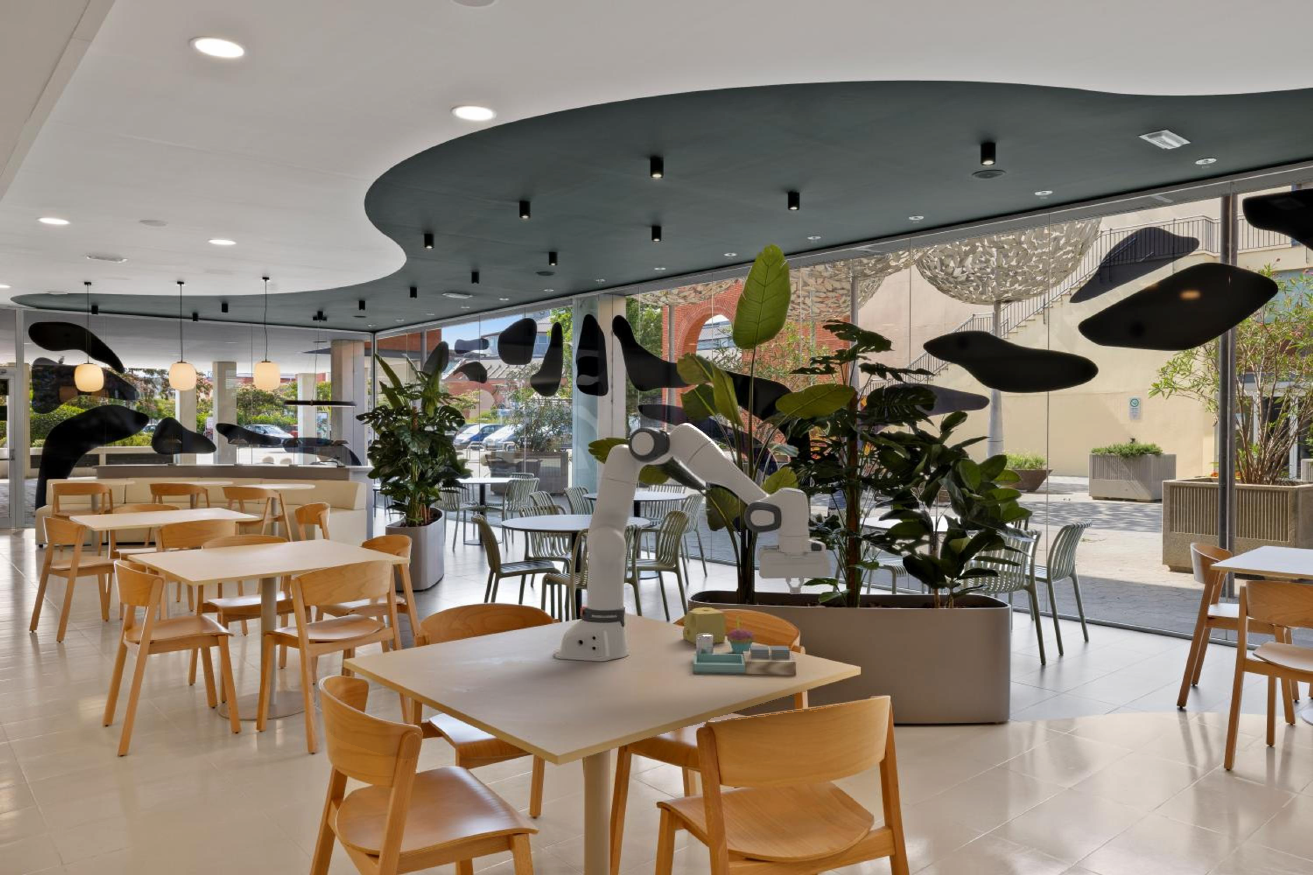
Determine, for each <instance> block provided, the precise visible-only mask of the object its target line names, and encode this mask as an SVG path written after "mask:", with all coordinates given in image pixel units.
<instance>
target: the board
mask: <svg viewBox="0 0 1313 875" xmlns="http://www.w3.org/2000/svg"><path fill="white" fill-rule="evenodd" d="M743 656H744V661H745V674H744V675H784V676H785V675H789V676H790V675H791V676H792V675H793V676H796V675H797V662H796V659H795V656H794V654H793V652H792V651H790V659H772V658H771V655H770V651H769V659H762V658H751V656H750V650H749V651H743Z"/></svg>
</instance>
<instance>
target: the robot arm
mask: <svg viewBox="0 0 1313 875" xmlns="http://www.w3.org/2000/svg"><path fill="white" fill-rule="evenodd" d="M674 458H676V459H678V460H679V461H680V463H682V464H683V465H684V466H685V467H686V468H687V469H688V471H690V472H691V473H692V474H693V475H694V476H696V477H697V478H698V479H700V480H702V481H703V482H705V483H709V484H714V485H718V486H721V487H725V488H727V489H728V490H731V491H732V492H733V493H734V494H735V495H736V496H738V498H740V499H741V500H742V501H743V502H744V503H745V504H747V507H746V508H745V511H744V515H743V516H744V518H743V519H744V522H745V525H746V527H747V528H748V529H749V530H750V531H752V532H754V533H756V534H757V533H758V534H766V533H771V532H775V531H776V532H777V541H778V542H777V543H778V544H775V545H774V544H773V545H762V547H760V548H758V549H757V552H756V553H757V555H756V556H757V559H758V561H759V563H758V564H759V566H758V576H759V577H760V579H765V580H766V579H785V583H786V584H787V585H788V587H789V594H790V595H801V592H802V590H801V589H802V587H803V585H804V583H805V579H810V578H811V579H812V578H814V579H815V578H816V579H817V578H830V576H831V575H832V569H831V560H830V557H829V555H828V554H827V552H826V549H827V546H826V543H824V542H823V541H820V540H819V541H818V540H816V539H813V538H812V539H811V538H810V530H809V526H808V525H809V520H810V511H809V502H808V497H807V494H806V492H804V491H803V490H801V489H799V488H798V489H797V488H794V487H780V488H779V489H778V490H777V491H775V492H774V493H772V494H770V493H769V492H767V491H765V490H764V489H763V488H762V487H761V486H759V485H758V484H757V482H755V481H753V479H752V478H750V477H749V476H748V475H747V474H746V473H745V472H743V471H742V470H741V469H740V468H739V467H738V466H737V465H736V464H735V463H734V462H733V461H732V460H731V459H730V457H729V456H728V455H727V454H726V453H725V452H724V451H723V450H722V448H720V446H719V445H718V444H716V442H715V441H714V440H712V438H710V437H709V436H708V435H707V434H706V433H705V432H703V431H702V430H700V429H699V428H698V427H696V426H695V425H693V424H691V423H689V422H685V423H680V424H678V425H676V426H675V427H674V428H673V429H672V430H671V431H669V432H667V431H666V430H665V429H661V428H659V427H658V428H657V427H653V426H652V427H651V426H643V427H639V428H637V429H635V430H634V431H633V432H632V433H631V434H630V436H629V440H628V444H617V445H614V446H613V447H611V449H610V450H609V453H608V454H607V458H606V461H605V463H604V466H603V469H602V474H601V477H600V482H599V485H598V486H599V487H598V490H597V494H596V501H595V504H594V508H593V513H592V515H591V519H590V523H589V527H588V531H587V536H586V539H585V541H586V548H587V550H588V562H587V564H588V565H587V567H588V568H587V584H586V587H587V588H586V589H587V590H586V592H587V593H586V594H587V595H586V596H587V597H586V600H587V602H586V603H587V604H586V605H583V606H582V607H581V608H580V616H579V617H580V620H579V621H577V622H576V623H574V625H572V626H571V627H570V628H568V629H567V630H566V631H565V632H564V634H563V636H562V639H561V644H560V646H558V647H557V648H555V649H554V651H553V657H554V658H556V659H560V660H576V661H587V662H588V661H591V662H593V661H594V662H607V661H609V660H614V659H621V658H625V657H627V656H628V655H629V654H630V652H629V650H628V649H629V648H628V645H627V639H626V633H625V632H626V630H625V626H626V614H627V612H626V607H625V604H624V602H625V600H624V599H625V596H624V593H625V592H624V590H625V574H626V573H625V572H626V555H627V554H626V552H627V542H626V538H625V532H626V529H627V526H628V521H629V518H630V515H631V513H632V509H633V505H634V504H633V503H634V501H635V500H634V499H635V495H636V490H637V486H638V485H637V484H638V481H639V477H640V473H641V470H642V469H643V468H644V467H654V466H662V465H665V464H668V463H669V462H671V461H672V460H673V459H674ZM792 579H798V581H799V583H798V584H797V586H792V585H791V583H792Z"/></svg>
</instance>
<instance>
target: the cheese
mask: <svg viewBox="0 0 1313 875" xmlns="http://www.w3.org/2000/svg"><path fill="white" fill-rule="evenodd" d="M726 620H727V618H726V613H725V612H724V611H723V610H722V611H721V610H719V609H716V608H713V607H710V606H709V607H705V606H704V607H703V606H702V607H695V608H693V609H692V610H689V611H687V613H686V615H684V617H683V624H684V625H683V626H684V627H683V629H682V637H683V640H685V641H688V642H690V643H693V644H694V645H696V635H697V634H700V633H708V634H713V644H717V643H725V640H726V636H727V634H726V633H727V621H726Z"/></svg>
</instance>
